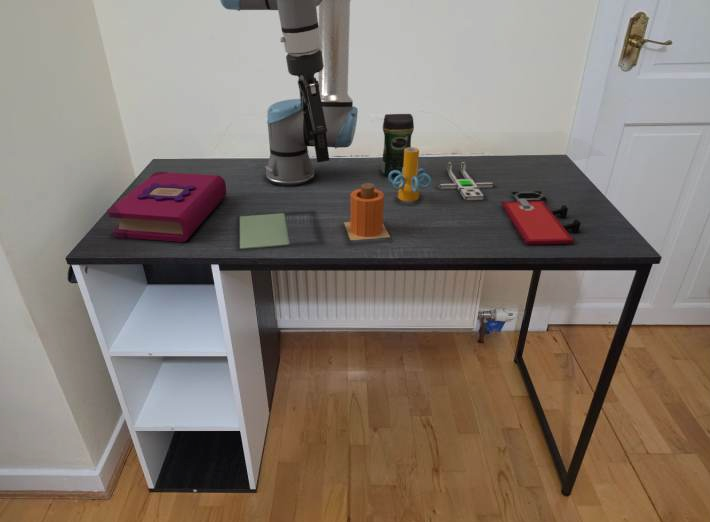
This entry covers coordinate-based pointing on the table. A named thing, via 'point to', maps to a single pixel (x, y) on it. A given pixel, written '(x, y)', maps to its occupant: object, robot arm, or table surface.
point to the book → (167, 206)
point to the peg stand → (366, 193)
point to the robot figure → (465, 184)
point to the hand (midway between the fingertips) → (317, 149)
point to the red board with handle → (539, 219)
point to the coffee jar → (396, 141)
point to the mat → (263, 231)
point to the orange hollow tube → (366, 214)
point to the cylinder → (409, 176)
